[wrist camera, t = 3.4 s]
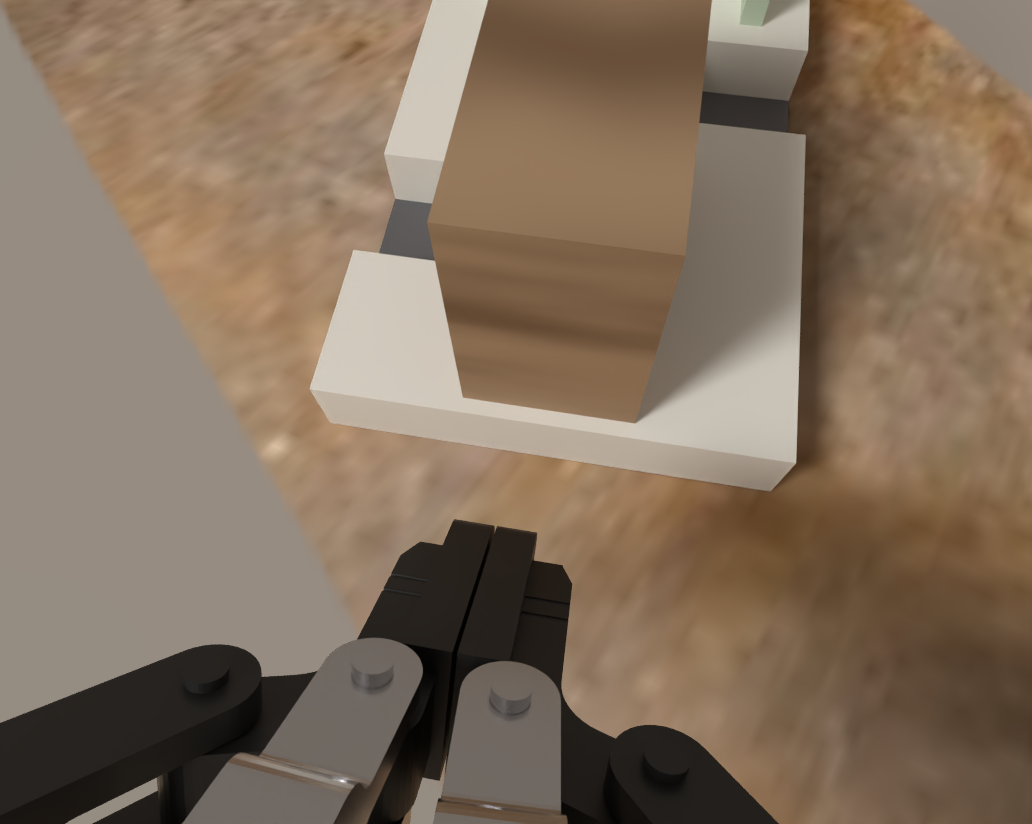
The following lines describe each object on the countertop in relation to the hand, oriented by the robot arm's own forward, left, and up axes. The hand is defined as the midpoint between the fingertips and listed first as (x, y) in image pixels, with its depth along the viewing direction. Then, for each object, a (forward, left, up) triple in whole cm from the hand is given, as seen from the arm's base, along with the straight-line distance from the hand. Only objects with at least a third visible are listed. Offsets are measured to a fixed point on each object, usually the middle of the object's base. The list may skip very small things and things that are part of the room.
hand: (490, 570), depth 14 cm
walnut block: (+10, -4, -6) cm, 13 cm away
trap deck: (+16, -6, -9) cm, 19 cm away
